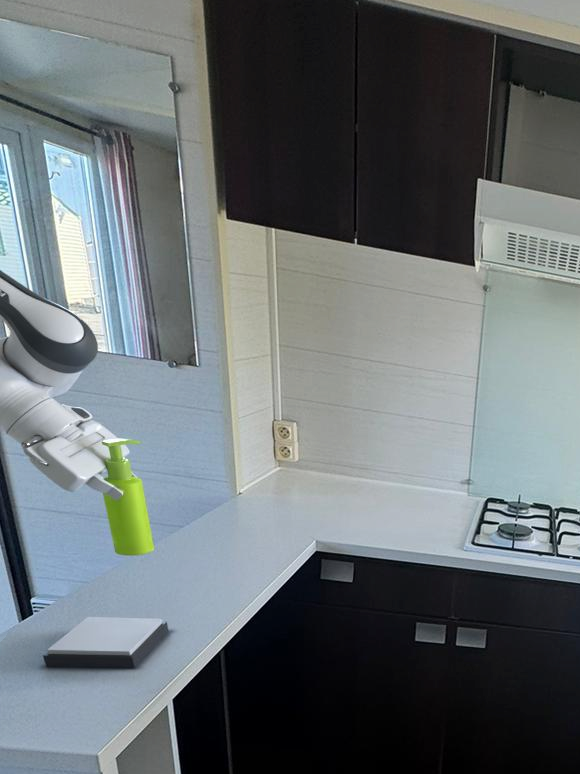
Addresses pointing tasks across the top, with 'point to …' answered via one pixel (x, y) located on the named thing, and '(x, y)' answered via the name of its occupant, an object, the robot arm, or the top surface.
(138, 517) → the soap dispenser
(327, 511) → the top surface
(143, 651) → the kitchen scale
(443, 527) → the top surface
